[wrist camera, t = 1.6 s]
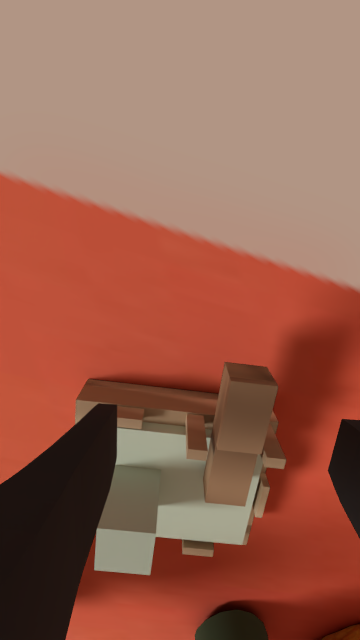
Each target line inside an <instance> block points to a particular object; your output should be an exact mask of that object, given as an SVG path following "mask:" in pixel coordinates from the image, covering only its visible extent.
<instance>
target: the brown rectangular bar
mask: <svg viewBox="0 0 360 640" xmlns="http://www.w3.org/2000/svg"><path fill="white" fill-rule="evenodd" d="M277 390H278V385H277V383H276V382H275V380H274V378H273V377H272V375H271V373H270V372H269V370H268V368H267V367H263V366H254V365H246V364H237V363H229V362H225V364H224V369H223V374H222V380H221V385H220V390H219V396H218V401H217V406H216V412H215V417H214V422H213V428H212V433H211V438H210V444H209V449H208V454H207V460H206V465H205V470H204V476H203V487H204V498H205V503H214V504H224V505H234V506H244V507H245V505H246V501H247V497H248V493H249V489H250V485H251V481H252V477H253V473H254V469H255V465H256V461H257V456H258V454H262V450H263V446H264V442H265V438H266V434H267V430H268V426H269V422H270V418H271V414H272V410H273V406H274V402H275V398H276V394H277Z"/></svg>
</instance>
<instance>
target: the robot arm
mask: <svg viewBox="0 0 360 640" xmlns="http://www.w3.org/2000/svg"><path fill="white" fill-rule="evenodd" d="M116 459H117V404H101V403H98V404H97V405H96V406H94V407H93V408H92V409H91V410H90V411H89V412H88V413H87V414H86V415H85V416H84V417H83V418H82V419H81V420H80V421H79V422H77V423H76V424H75V425H74V426H73V427H72V428H71V429H70V430H69V431H68V432H66V433H65V434H64V435H63V436H62V437H61V438H60V439H59V440H57V441H56V442H55V443H54V444H53V445H52V446H51V447H49V448H48V449H47V450H46V451H44V452H43V453H42V454H41V455H39V456H38V457H37V458H36V459H34V460H33V461H32V462H31V463H29V464H28V465H27V466H26V467H24V468H23V469H22V470H20V471H19V472H18V473H16V474H15V475H13V476H12V477H11V478H9V479H8V480H6V481H5V482H3V483H2V484H0V640H65V639H66V635H67V631H68V627H69V623H70V618H71V614H72V610H73V606H74V602H75V598H76V594H77V590H78V586H79V583H80V580H81V576H82V573H83V569H84V566H85V563H86V560H87V557H88V554H89V551H90V548H91V545H92V542H93V539H94V536H95V533H96V530H97V527H98V524H99V521H100V518H101V515H102V512H103V509H104V506H105V503H106V500H107V497H108V494H109V491H110V487H111V483H112V478H113V474H114V469H115V464H116ZM328 472H329V474H330V477H331V480H332V482H333V485H334V488H335V490H336V493H337V495H338V497H339V500H340V502H341V504H342V506H343V508H344V510H345V512H346V514H347V516H348V518H349V519H350V521H351V523H352V525H353V527H354V529H355V531H356V533H357V534H358V536H359V538H360V420H348V419H342V420H341V424H340V428H339V432H338V435H337V439H336V443H335V446H334V450H333V454H332V457H331V461H330V465H329V468H328Z"/></svg>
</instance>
